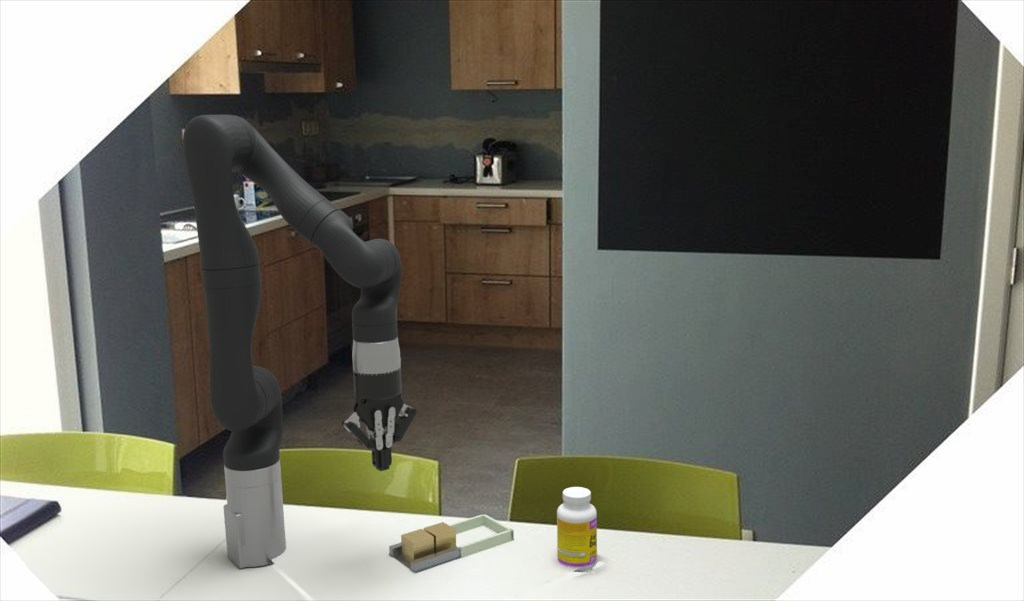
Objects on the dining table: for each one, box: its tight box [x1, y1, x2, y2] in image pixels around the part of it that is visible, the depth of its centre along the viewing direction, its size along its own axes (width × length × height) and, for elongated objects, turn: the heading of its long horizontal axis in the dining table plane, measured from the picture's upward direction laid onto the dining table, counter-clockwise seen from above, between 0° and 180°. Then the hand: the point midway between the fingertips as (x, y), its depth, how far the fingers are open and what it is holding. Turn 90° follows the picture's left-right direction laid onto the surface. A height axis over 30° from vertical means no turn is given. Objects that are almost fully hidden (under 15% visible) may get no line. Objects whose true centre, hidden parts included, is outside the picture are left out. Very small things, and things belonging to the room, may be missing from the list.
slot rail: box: [388, 542, 463, 574], centre depth 161 cm, size 9×9×2 cm
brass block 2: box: [422, 521, 457, 553], centre depth 163 cm, size 4×4×4 cm
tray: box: [448, 513, 515, 558], centre depth 167 cm, size 11×9×3 cm
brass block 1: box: [400, 528, 434, 563], centre depth 160 cm, size 4×4×4 cm
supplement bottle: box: [556, 486, 598, 573], centre depth 158 cm, size 7×7×13 cm
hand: (382, 469), depth 154 cm, fingers closed
